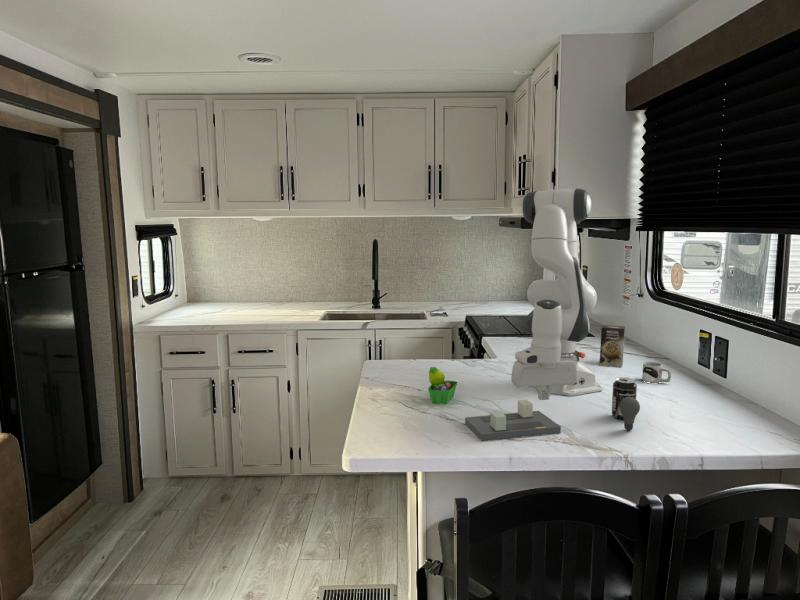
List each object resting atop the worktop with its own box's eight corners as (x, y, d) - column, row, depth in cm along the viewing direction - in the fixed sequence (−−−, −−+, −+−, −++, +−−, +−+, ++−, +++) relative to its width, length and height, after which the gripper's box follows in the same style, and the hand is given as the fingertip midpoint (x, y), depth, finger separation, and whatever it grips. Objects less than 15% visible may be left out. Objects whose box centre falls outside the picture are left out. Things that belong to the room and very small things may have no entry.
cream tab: (526, 412, 182) (526, 399, 181) (532, 416, 178) (532, 403, 177) (517, 413, 181) (517, 400, 180) (523, 417, 177) (523, 404, 176)
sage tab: (500, 424, 171) (500, 411, 171) (505, 429, 167) (506, 416, 167) (490, 425, 170) (490, 412, 170) (495, 430, 167) (496, 417, 166)
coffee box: (599, 365, 243) (600, 327, 240) (600, 362, 249) (601, 324, 246) (622, 367, 239) (624, 328, 237) (623, 364, 245) (625, 325, 243)
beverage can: (615, 412, 188) (617, 375, 186) (638, 416, 183) (640, 379, 182) (608, 418, 182) (609, 380, 181) (630, 423, 178) (632, 384, 176)
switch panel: (538, 416, 184) (538, 410, 184) (560, 433, 170) (560, 426, 170) (465, 423, 178) (465, 417, 178) (482, 441, 165) (482, 433, 165)
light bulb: (640, 434, 169) (642, 400, 167) (620, 433, 170) (621, 399, 168) (636, 427, 174) (638, 394, 173) (616, 426, 175) (618, 393, 174)
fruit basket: (449, 406, 195) (449, 372, 193) (423, 403, 198) (423, 370, 196) (458, 395, 205) (458, 364, 204) (433, 393, 208) (433, 362, 207)
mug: (639, 381, 220) (640, 364, 219) (646, 377, 225) (647, 360, 224) (667, 387, 214) (668, 369, 213) (673, 383, 219) (674, 365, 218)
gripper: (571, 351, 183) (569, 394, 185) (510, 353, 179) (508, 398, 180) (582, 355, 177) (580, 400, 179) (518, 358, 172) (516, 404, 174)
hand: (543, 399), depth 180 cm, fingers closed
